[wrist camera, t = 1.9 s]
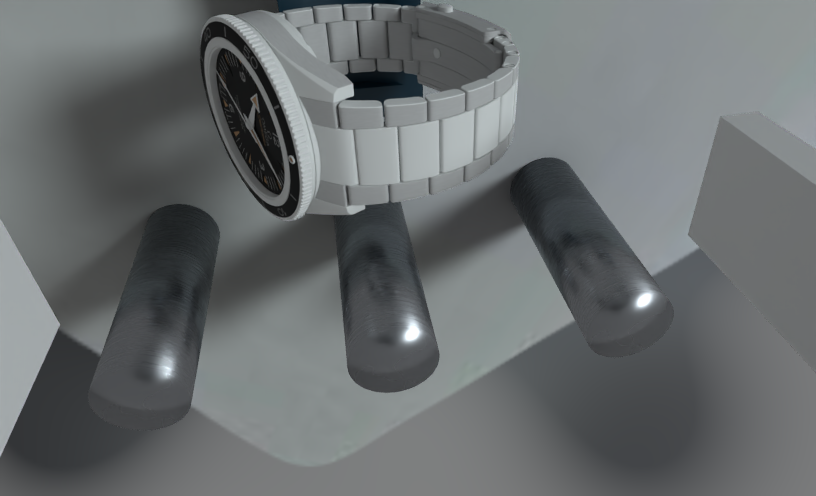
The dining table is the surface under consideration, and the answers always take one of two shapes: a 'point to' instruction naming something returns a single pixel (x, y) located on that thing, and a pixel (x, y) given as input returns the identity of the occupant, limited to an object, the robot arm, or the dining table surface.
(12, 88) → the dining table surface
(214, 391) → the dining table surface
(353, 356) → the post field
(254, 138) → the watch
